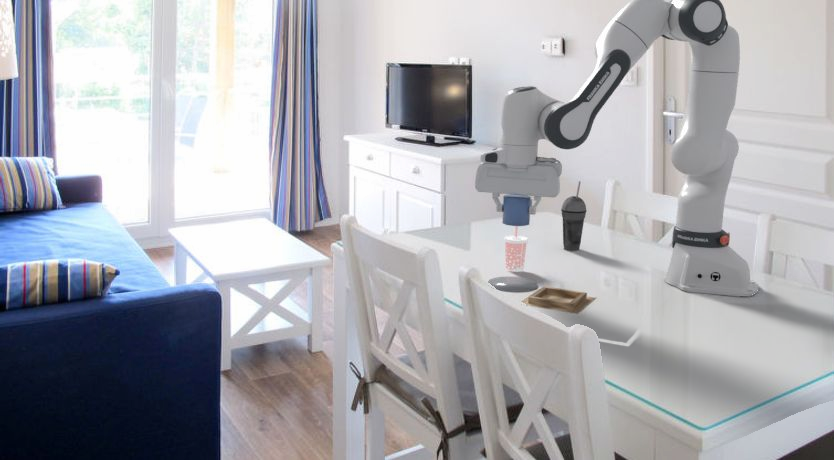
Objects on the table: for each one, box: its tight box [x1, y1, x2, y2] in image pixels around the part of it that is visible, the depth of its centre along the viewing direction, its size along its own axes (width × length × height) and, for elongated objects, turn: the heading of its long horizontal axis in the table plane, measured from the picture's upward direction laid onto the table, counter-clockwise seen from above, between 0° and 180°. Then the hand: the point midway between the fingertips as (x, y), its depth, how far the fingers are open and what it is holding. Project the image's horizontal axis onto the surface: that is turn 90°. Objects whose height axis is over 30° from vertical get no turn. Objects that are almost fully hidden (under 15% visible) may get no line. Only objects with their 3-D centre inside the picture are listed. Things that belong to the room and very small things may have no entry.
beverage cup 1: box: [503, 226, 529, 273], centre depth 230 cm, size 6×6×14 cm
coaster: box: [487, 276, 538, 293], centre depth 217 cm, size 12×12×1 cm
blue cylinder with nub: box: [502, 194, 533, 227], centre depth 215 cm, size 10×6×6 cm
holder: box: [520, 285, 597, 315], centre depth 205 cm, size 14×14×2 cm
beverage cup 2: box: [560, 180, 588, 252], centre depth 255 cm, size 7×7×20 cm
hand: (515, 212), depth 213 cm, fingers closed on blue cylinder with nub, 6 cm apart
